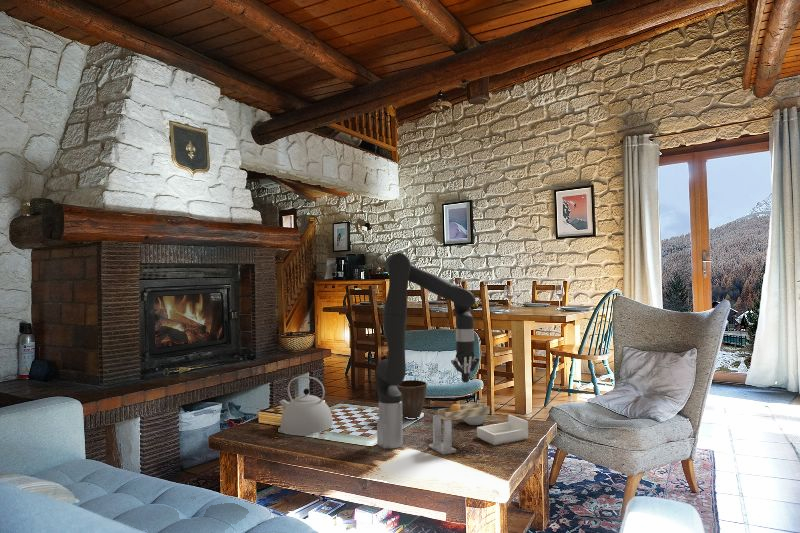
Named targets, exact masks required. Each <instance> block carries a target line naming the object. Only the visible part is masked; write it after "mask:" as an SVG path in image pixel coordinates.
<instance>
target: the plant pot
mask: <svg viewBox="0 0 800 533" xmlns="http://www.w3.org/2000/svg"><path fill="white" fill-rule="evenodd" d="M427 385H428V383H427V381H426V382H425V381H423V380H415V379H414V380H412V379H406V380H403V381H402V383H400V384H399V385H397V387H398V389H399V391H400V392H401V394H402V418H403V417H408V418H417V417H419V418H421V414H422V411H423V408H424V404H425V400H426V399H425V398H426V394H427Z"/></svg>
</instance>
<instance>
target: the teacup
mask: <svg viewBox="0 0 800 533" xmlns="http://www.w3.org/2000/svg"><path fill="white" fill-rule="evenodd" d="M478 403H479V402H470V401H469V402H466V404H469V405H471V404H478ZM486 406H487V405H486V404H484V403H481V407H486ZM486 419H487V415H480V416H474V417H468V418H462V421H464V422H465V423H466V424H467V425H470V426H479V425H480V426H481V425H482V424H483V423H484V422H485V420H486Z"/></svg>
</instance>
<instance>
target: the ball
mask: <svg viewBox="0 0 800 533" xmlns="http://www.w3.org/2000/svg"><path fill="white" fill-rule="evenodd" d="M449 408H450V411H451V412H453V411H460V406H459V404H458V403H453V404H451V406H450V407H449Z"/></svg>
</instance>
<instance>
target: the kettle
mask: <svg viewBox="0 0 800 533" xmlns="http://www.w3.org/2000/svg"><path fill="white" fill-rule="evenodd" d="M299 379H312V380H314V381H316V382H317V383H318V384H320V386H321V389H322V397H321V398H320V397H318V396H316V395H311V394H310V389H309V388H304V389H303V394H304V395H299V396H297V397H295V398H294V399H293V397H292V396H291V392H290V386H291V383H292V382H294V381H295V380H299ZM325 393H326V392H325V387H324V385H323V383H322V382H321V381H320V380H319V379H318V378H316V377H313V376H308V375H304V376H303V375H302V376H301V375H300V376H296V377H294V378H292V379H290V381H289V382H288V385H287V395H288V397H289V400H290V402H289V401H287V400H285V399H282V400H279V404H280V405H281V406H283V408H284V409H283V412H282V414H281V417H280V429H279V430H280V431H281V433H282V434H286V435H291V436H311V435H310V434H313V433H316V432H320V431H324V430H327V429H329V428H331V427H332V425H333V423H334V422H333V414H332V410H331V409H330V407H329V405H328V404H327V403H326V402H325V401H324V398H325V395H326V394H325ZM332 428H333V427H332ZM332 428H331V429H332ZM313 435H314V434H313Z"/></svg>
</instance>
